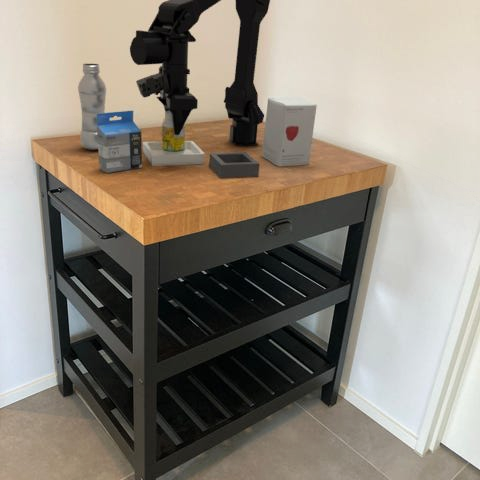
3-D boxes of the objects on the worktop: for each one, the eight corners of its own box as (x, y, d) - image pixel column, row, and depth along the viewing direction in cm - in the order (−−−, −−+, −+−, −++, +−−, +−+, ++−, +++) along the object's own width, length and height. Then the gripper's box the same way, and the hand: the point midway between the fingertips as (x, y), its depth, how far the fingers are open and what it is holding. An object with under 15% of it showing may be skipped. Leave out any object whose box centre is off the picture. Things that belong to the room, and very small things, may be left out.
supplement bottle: (188, 153, 126) (189, 113, 122) (168, 156, 123) (169, 115, 119) (177, 148, 130) (178, 109, 126) (158, 150, 127) (158, 110, 123)
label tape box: (106, 173, 113) (104, 117, 108) (98, 168, 116) (95, 112, 111) (142, 168, 118) (142, 113, 113) (133, 163, 121) (133, 109, 116)
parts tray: (192, 150, 134) (192, 140, 133) (204, 164, 124) (205, 153, 123) (142, 151, 130) (142, 141, 129) (152, 166, 120) (152, 155, 119)
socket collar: (244, 164, 126) (245, 152, 125) (258, 176, 119) (259, 163, 118) (209, 165, 123) (209, 153, 122) (220, 178, 116) (221, 165, 115)
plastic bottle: (75, 150, 127) (69, 64, 119) (91, 143, 133) (87, 61, 124) (98, 154, 125) (94, 67, 117) (113, 147, 131) (111, 64, 123)
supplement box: (278, 167, 126) (284, 104, 120) (261, 156, 133) (266, 97, 127) (310, 165, 130) (318, 104, 123) (291, 154, 137) (298, 96, 131)
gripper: (132, 56, 123) (133, 122, 129) (146, 68, 107) (147, 143, 114) (178, 57, 126) (177, 122, 133) (199, 69, 111) (196, 141, 117)
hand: (173, 131), depth 124 cm, fingers open, 6 cm apart
